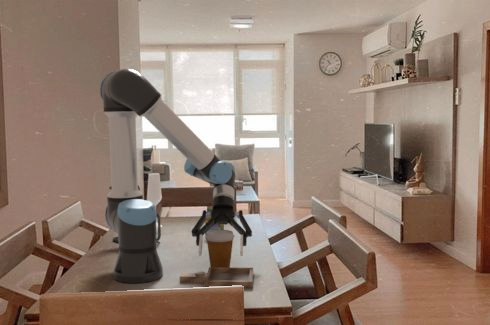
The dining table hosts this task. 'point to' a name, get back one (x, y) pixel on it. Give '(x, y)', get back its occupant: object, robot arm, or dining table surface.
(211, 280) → the tray
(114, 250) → the dining table surface
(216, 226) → the crayon box
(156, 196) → the champagne flute
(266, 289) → the dining table surface
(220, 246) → the disposable coffee cup
